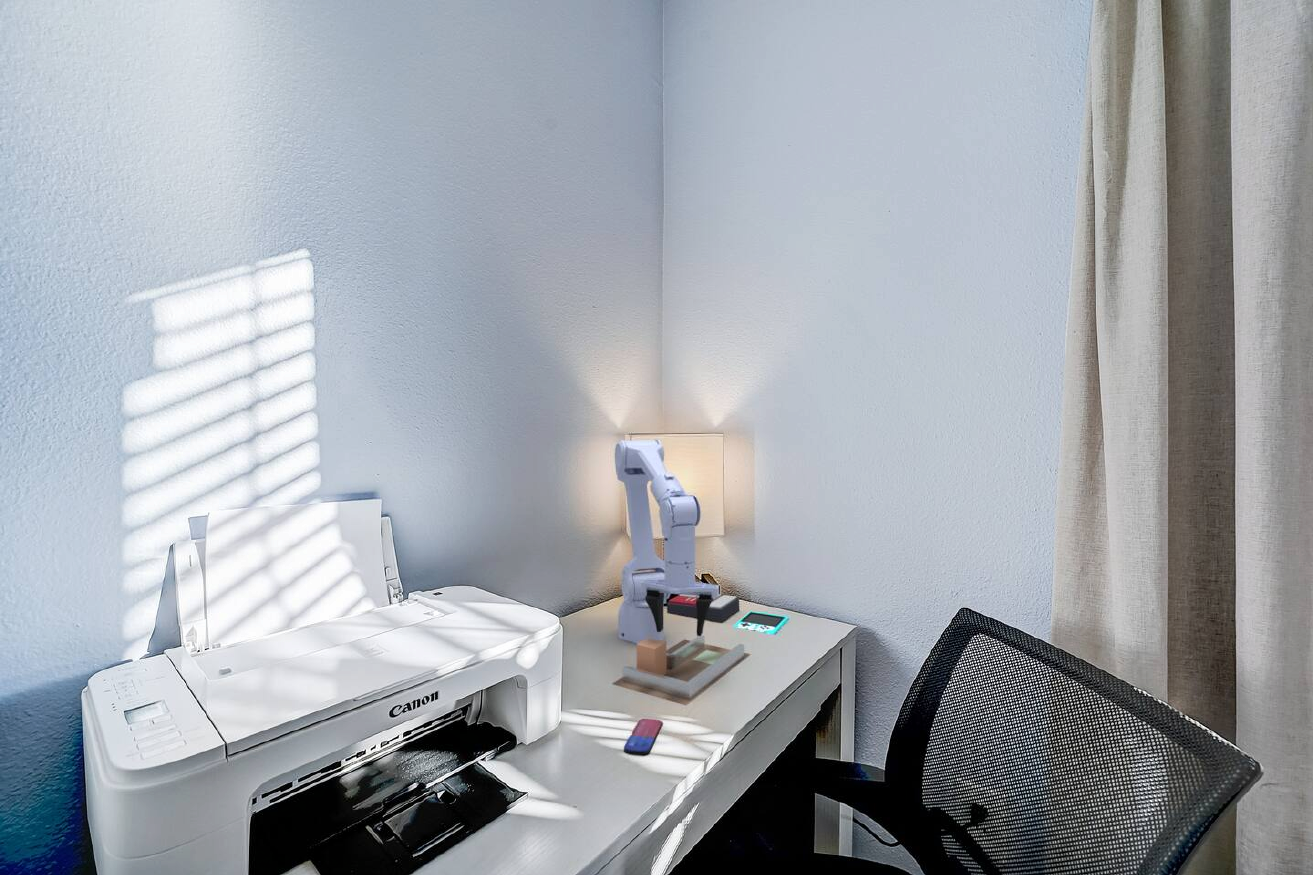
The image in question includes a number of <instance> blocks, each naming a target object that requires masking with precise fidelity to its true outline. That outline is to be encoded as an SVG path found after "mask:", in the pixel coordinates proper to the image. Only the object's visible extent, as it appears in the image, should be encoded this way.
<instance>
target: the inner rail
mask: <svg viewBox="0 0 1313 875" xmlns="http://www.w3.org/2000/svg"><path fill="white" fill-rule="evenodd" d="M689 641H690V642H689V643H687V644H685V645H684V646H682V647H681V648H679V649H677V650H676V651H674V652H673V653H671V654H668V653H666V668H667V669H671V670H672V669H674V668H675V667H677V666H678V665H680V664H681V663H683V662H684V661H686V660H687V659H689V658H690V657H692V656H693V655H695V654H696V653H698V652H699V651H701V650H702V649H704V644H705V635H703V634H702V635H701V636H697V637H695V638H693V639H692V640H689Z"/></svg>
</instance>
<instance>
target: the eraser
mask: <svg viewBox="0 0 1313 875" xmlns="http://www.w3.org/2000/svg"><path fill="white" fill-rule="evenodd" d="M663 726H664V721H662V720H661V719H653V718H641V719H640V720H639V721H638V722H637V724H636V725H635V726H634V728H633V730H632V732H631V734H630V735H629V737H628V739H627V741H626V742H625V743H624V746H623V751H624V753H626V754H630V755H637V756H638V755H640V756H648V755H649V754H650V753H651V751H652V749H653V747H654V745H655V743H656V741H657V738H658V736H659V734H660V732H661V730H662V727H663Z"/></svg>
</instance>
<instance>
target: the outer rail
mask: <svg viewBox="0 0 1313 875" xmlns="http://www.w3.org/2000/svg"><path fill="white" fill-rule="evenodd" d="M744 653H745V644H742V643H738V644H737V645H736V646H734V647H733V648H731V649H730V651H729V652H728V653H726V654H725V655H724V656H722V657H721V658H719V659H718V660H717V661H715V662H714V663H713V664H711V665H710V666H708V667H707V668H706V669H704V670H703V671H702V672H700V673H699V674H698V675H696V676H695V677H693V678H692V679H691V680H689V681H688V682H686V681H682V680H679V679H675V678H671V677H667V676H663V675H660V674H656V673H652V672H648V671H645V670H641V669H637V667H633V666H628V665H624V666H623V667H622V677H623V681H625V682H629V683H632V684H636V685H639V686H643V687H646V688H650V689H653V690H657V691H661V692H664V693H668V694H671V695H675V696H678V697H682V698H685V699H689V700H690V699H691V698H692V697H694V696H695V695H696V694H698V693H699V692H700V691H701V690H703V689H704V688H705V687H707V686H708V685H709V684H710V683H712V682H713V681H714V680H715V679H717V678H718V677H719V676H721V675H722V674H723V673H724V672H726V671H727V670H728V669H729V668H731V667H732V666H733V665H735V664H736V663H737V662H738V661H740V660H741V659H742V658H744Z"/></svg>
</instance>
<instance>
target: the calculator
mask: <svg viewBox="0 0 1313 875" xmlns="http://www.w3.org/2000/svg"><path fill="white" fill-rule="evenodd" d="M698 598H699V596H695V595H682V594H678V595H677V596H675V597H673V598H671V599H669V600H668V602H666V613H667V614H669V615H674V616H680V617H686V618H690V619H691V618H692V619H697V607H696V600H697V599H698ZM738 612H740V598H739V597H737V596H734V595H725V594H723V595H722V594H721V593H719V596H718V598H713V600H712V602H711V604H710V607H709V609H708V612H707V615H706V618H705V622H712V623H717V624H723V623H725V622H726V621H728V620H729V619H730V618H731V617H734V616H735V615H736V614H737V613H738Z"/></svg>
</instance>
